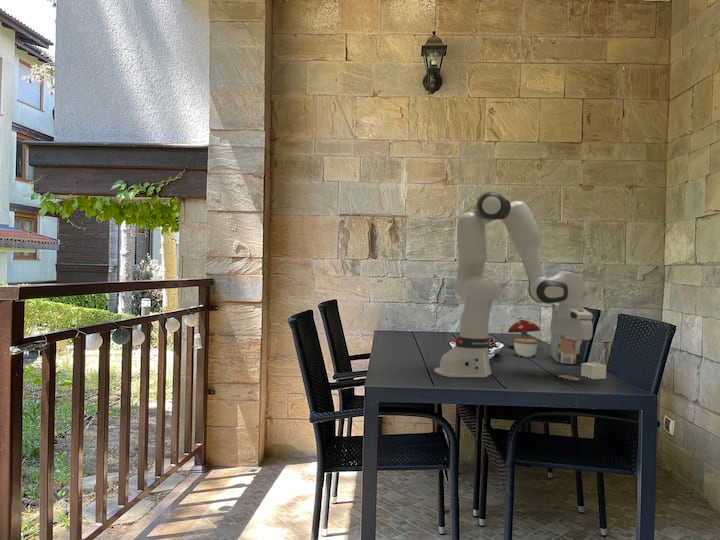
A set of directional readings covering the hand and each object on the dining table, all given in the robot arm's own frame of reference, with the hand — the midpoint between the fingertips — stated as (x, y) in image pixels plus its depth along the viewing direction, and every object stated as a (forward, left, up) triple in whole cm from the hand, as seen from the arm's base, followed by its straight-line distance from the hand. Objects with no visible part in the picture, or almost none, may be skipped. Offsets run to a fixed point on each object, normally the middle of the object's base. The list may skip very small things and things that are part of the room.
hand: (569, 348), depth 199 cm
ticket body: (+11, 0, -12) cm, 16 cm away
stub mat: (0, 0, -12) cm, 12 cm away
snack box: (+24, +34, -12) cm, 43 cm away
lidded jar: (+12, +46, -12) cm, 49 cm away
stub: (0, 0, -2) cm, 2 cm away
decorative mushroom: (+25, +67, -12) cm, 72 cm away
